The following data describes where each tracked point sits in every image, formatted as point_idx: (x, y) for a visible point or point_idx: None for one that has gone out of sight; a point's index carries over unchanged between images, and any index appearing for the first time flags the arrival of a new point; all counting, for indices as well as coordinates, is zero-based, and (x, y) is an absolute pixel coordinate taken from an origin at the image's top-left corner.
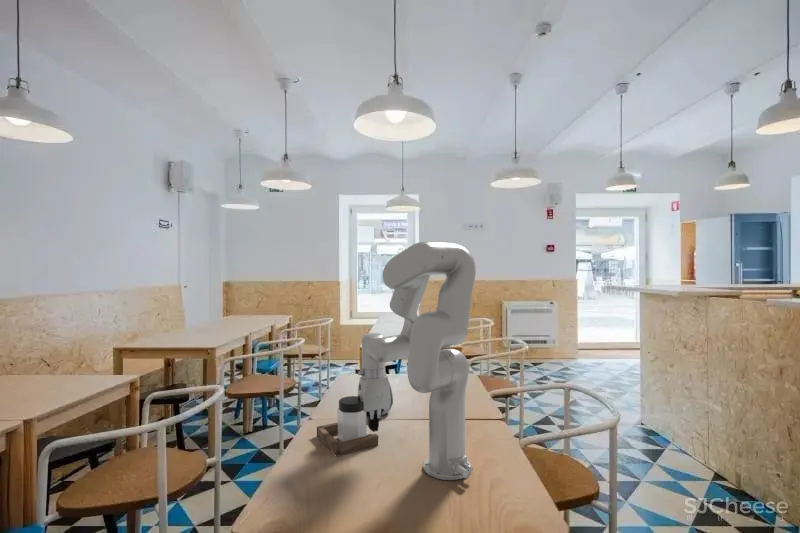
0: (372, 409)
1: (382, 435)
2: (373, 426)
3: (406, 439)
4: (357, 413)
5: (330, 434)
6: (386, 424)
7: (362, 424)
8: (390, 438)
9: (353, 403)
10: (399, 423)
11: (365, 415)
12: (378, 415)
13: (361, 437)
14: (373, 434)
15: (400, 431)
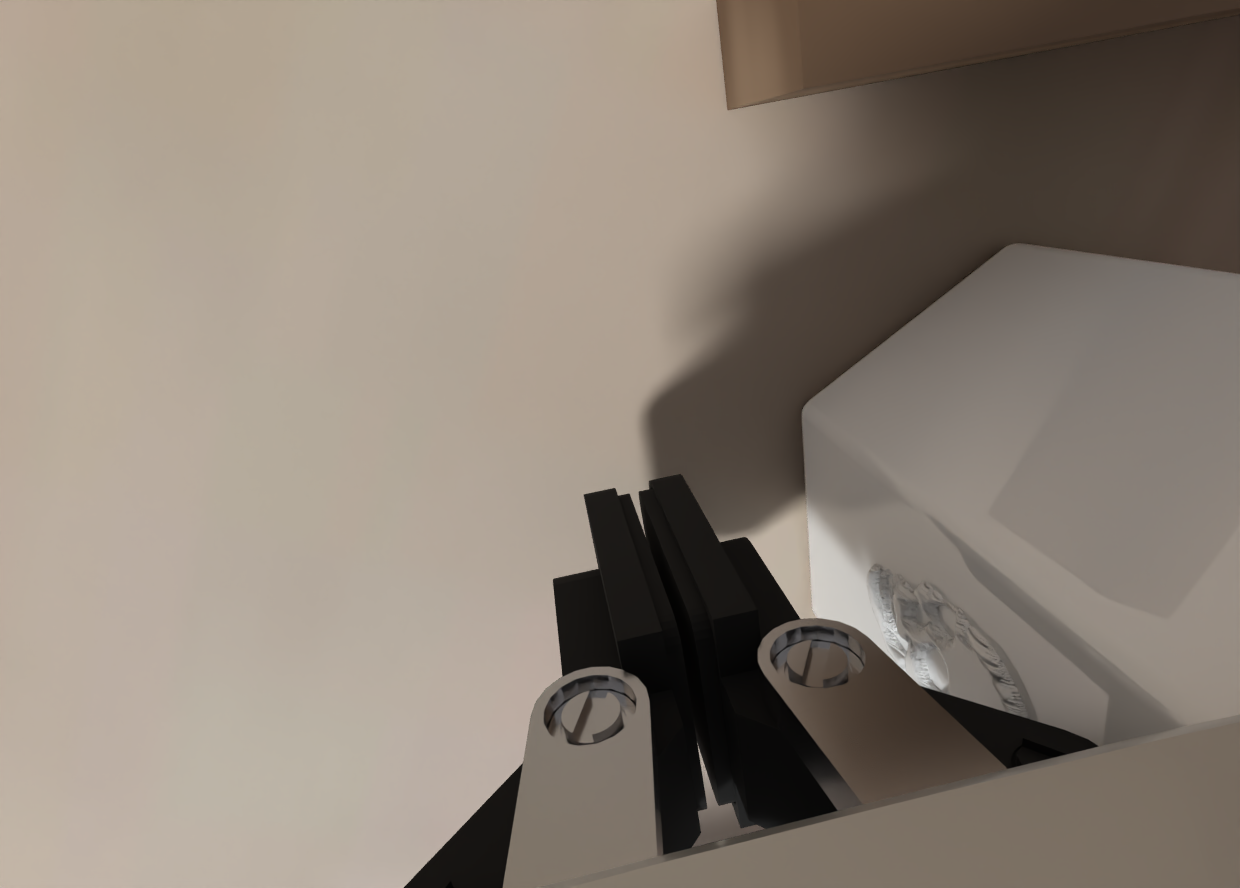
0: (1152, 786)
1: (497, 434)
2: (705, 523)
3: (12, 64)
4: None
5: None
6: (319, 809)
7: (1121, 422)
8: (378, 253)
9: None
10: (75, 808)
11: (1173, 634)
12: (602, 729)
13: (1199, 2)
14: (876, 66)
15: (104, 503)
